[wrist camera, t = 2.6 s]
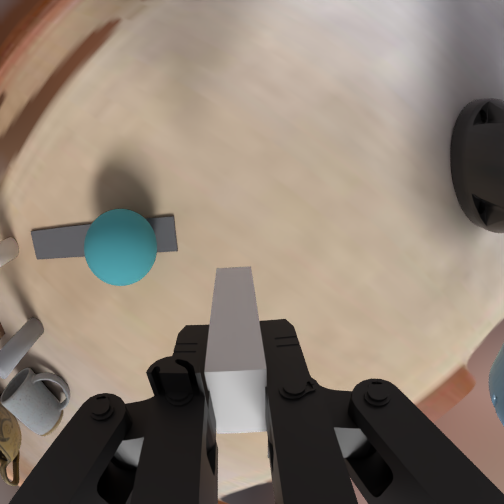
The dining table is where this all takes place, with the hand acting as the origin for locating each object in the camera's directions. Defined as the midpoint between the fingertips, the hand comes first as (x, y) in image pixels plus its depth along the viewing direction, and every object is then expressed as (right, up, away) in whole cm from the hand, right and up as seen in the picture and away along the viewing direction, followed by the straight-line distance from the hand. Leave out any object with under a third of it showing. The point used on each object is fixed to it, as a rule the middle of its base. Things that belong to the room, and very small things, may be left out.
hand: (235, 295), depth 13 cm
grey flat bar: (-14, +3, +11) cm, 18 cm away
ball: (-10, +2, +8) cm, 13 cm away
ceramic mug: (-29, -17, +17) cm, 38 cm away
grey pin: (-25, -7, +14) cm, 30 cm away
